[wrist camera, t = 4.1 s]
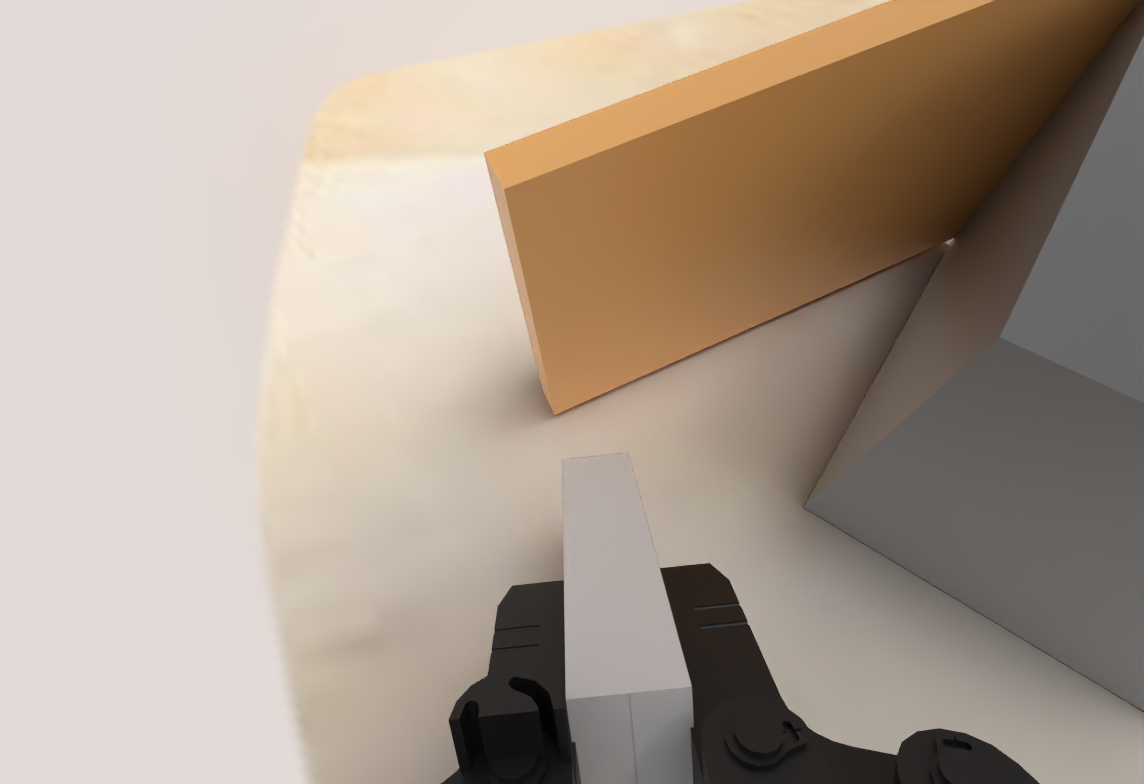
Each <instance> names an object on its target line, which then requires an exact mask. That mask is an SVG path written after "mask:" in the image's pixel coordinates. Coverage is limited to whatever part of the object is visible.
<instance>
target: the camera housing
mask: <svg viewBox="0 0 1144 784" xmlns="http://www.w3.org/2000/svg"><path fill="white" fill-rule="evenodd" d="M804 508H805V509H807V510H809V511H810V512H812V513H814V514H815V515H817V516H819V517H820V518H822V519H824V520H825V521H827V522H829V523H830V524H832V525H834V526H835V527H837V528H839V529H840V530H842V531H844V532H845V533H847V534H849V535H850V536H852V537H854V538H855V539H857V540H859V541H860V542H862V543H864V544H865V545H867V546H869V547H870V548H872V549H874V550H875V551H877V552H879V553H880V554H882V555H884V556H885V557H887V558H889V559H890V560H892V561H894V562H895V563H897V564H899V565H900V566H902V567H904V568H905V569H907V570H909V571H910V572H912V573H914V574H915V575H917V576H919V577H920V578H922V579H924V580H925V581H927V582H929V583H930V584H932V585H934V586H935V587H937V588H939V589H940V590H942V591H944V592H945V593H947V594H949V595H950V596H952V597H954V598H955V599H957V600H959V601H960V602H962V603H964V604H965V605H967V606H969V607H970V608H972V609H974V610H975V611H977V612H979V613H980V614H982V615H984V616H985V617H987V618H989V619H990V620H992V621H994V622H995V623H997V624H999V625H1000V626H1002V627H1004V628H1005V629H1007V630H1009V631H1010V632H1012V633H1014V634H1015V635H1017V636H1019V637H1020V638H1022V639H1024V640H1025V641H1027V642H1029V643H1030V644H1032V645H1034V646H1035V647H1037V648H1039V649H1040V650H1042V651H1044V652H1045V653H1047V654H1049V655H1050V656H1052V657H1054V658H1055V659H1057V660H1059V661H1060V662H1062V663H1064V664H1065V665H1067V666H1069V667H1070V668H1072V669H1074V670H1075V671H1077V672H1079V673H1080V674H1082V675H1084V676H1085V677H1087V678H1089V679H1090V680H1092V681H1094V682H1095V683H1097V684H1099V685H1100V686H1102V687H1104V688H1105V689H1107V690H1109V691H1110V692H1112V693H1114V694H1115V695H1117V696H1119V697H1120V698H1122V699H1124V700H1125V701H1127V702H1129V703H1130V704H1132V705H1134V706H1135V707H1137V708H1139V709H1140V710H1142V711H1144V0H1141V1H1140V2H1139V3H1138V4H1137V6H1136V7H1135V8H1134V9H1133V11H1132V12H1131V13H1130V15H1129V16H1128V17H1127V18H1126V20H1125V21H1124V22H1123V23H1122V25H1121V26H1120V27H1119V29H1118V30H1117V31H1116V32H1115V34H1114V35H1113V36H1112V37H1111V39H1110V40H1109V41H1108V43H1107V44H1106V45H1105V46H1104V48H1103V49H1102V50H1101V51H1100V53H1099V54H1098V55H1097V57H1096V58H1095V59H1094V60H1093V62H1092V63H1091V64H1090V65H1089V67H1088V68H1087V69H1086V71H1085V72H1084V73H1083V74H1082V76H1081V77H1080V78H1079V79H1078V81H1077V82H1076V83H1075V85H1074V86H1073V87H1072V88H1071V90H1070V91H1069V92H1068V93H1067V95H1066V96H1065V97H1064V99H1063V100H1062V101H1061V102H1060V104H1059V105H1058V106H1057V107H1056V109H1055V110H1054V111H1053V113H1052V114H1051V115H1050V116H1049V118H1048V119H1047V120H1046V121H1045V123H1044V124H1043V125H1042V127H1041V128H1040V129H1039V130H1038V132H1037V133H1036V134H1035V135H1034V137H1033V138H1032V139H1031V141H1030V142H1029V143H1028V144H1027V146H1026V147H1025V148H1024V149H1023V151H1022V152H1021V153H1020V155H1019V156H1018V157H1017V158H1016V160H1015V161H1014V162H1013V163H1012V165H1011V166H1010V167H1009V169H1008V170H1007V171H1006V172H1005V174H1004V175H1003V176H1002V177H1001V179H1000V180H999V181H998V183H997V184H996V185H995V186H994V188H993V189H992V190H991V191H990V193H989V194H988V195H987V197H986V198H985V199H984V200H983V202H982V203H981V204H980V205H979V207H978V208H977V209H976V211H975V212H974V213H973V214H972V216H971V217H970V218H969V220H968V221H967V222H966V223H965V225H964V226H963V227H962V228H961V230H960V231H959V232H958V234H957V235H956V236H955V237H954V239H953V240H952V241H951V242H950V244H949V246H948V248H947V249H946V251H945V253H944V255H943V257H942V258H941V260H940V262H939V264H938V266H937V267H936V269H935V271H934V273H933V275H932V276H931V278H930V280H929V282H928V284H927V285H926V287H925V289H924V291H923V293H922V294H921V296H920V298H919V300H918V302H917V303H916V305H915V307H914V309H913V311H912V312H911V314H910V316H909V318H908V320H907V321H906V323H905V325H904V327H903V329H902V330H901V332H900V334H899V336H898V338H897V339H896V341H895V343H894V345H893V347H892V348H891V350H890V352H889V354H888V356H887V357H886V359H885V361H884V363H883V365H882V366H881V368H880V370H879V372H878V374H877V376H876V377H875V379H874V381H873V383H872V385H871V386H870V388H869V390H868V392H867V394H866V395H865V397H864V399H863V401H862V403H861V404H860V406H859V408H858V410H857V412H856V413H855V415H854V417H853V419H852V421H851V422H850V424H849V426H848V428H847V430H846V431H845V433H844V435H843V437H842V439H841V440H840V442H839V444H838V446H837V448H836V449H835V451H834V453H833V455H832V457H831V458H830V460H829V462H828V464H827V466H826V467H825V469H824V471H823V473H822V475H821V476H820V478H819V480H818V482H817V484H816V485H815V487H814V489H813V491H812V493H811V494H810V496H809V498H808V500H807V502H806V503H805V505H804Z"/></svg>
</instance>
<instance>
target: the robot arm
mask: <svg viewBox="0 0 1144 784" xmlns="http://www.w3.org/2000/svg"><path fill="white" fill-rule="evenodd" d="M562 488H563V554H564V580H563V581H553V582H543V583H534V584H524V585H515V586H512V587H511V588H510V590H509V591H508V593H507V594H506V596H505V597H504V598H503V600H502V601H501V603H500V604H499V606H498V609H497V616H496V623H495V634H494V637H493V644H492V654H491V657H490V664H489V671H488V676H487V677H485V678H483V679H482V680H480V681H478V682H476V683H475V684H473V685H471V686H470V687H469V689H468V690H467V691H466V692H465V693H464V694H463V695H462V696H461V697H460V698H459V699H458V700H457V702H456V704H455V706H454V709H453V711H452V713H451V716H450V718H449V724H450V728H451V732H452V737H453V741H454V745H455V750H456V754H457V759H458V763H459V767H460V768H459V769H458V770H457V771H456V772H455V773H454V774H453V775H451V776H450V777H449V778H448V779H447V780H445V781H444V782H443V783H441V784H1040V783H1038V782H1037V781H1036V780H1035V779H1034V778H1033V777H1032V776H1031V775H1030V774H1029V773H1027V772H1026V771H1025V770H1024V769H1023V768H1022V767H1021V766H1020V765H1019V764H1018V763H1016V762H1015V761H1013V760H1012V759H1011V758H1009V757H1008V756H1007V755H1005V754H1004V753H1002V752H1001V751H1000V750H998V749H997V748H996V747H994V746H993V745H991V744H989V743H986V742H984V741H982V740H979V739H977V738H975V737H973V736H970V735H968V734H966V733H961V732H956V731H950V730H944V729H932V730H925V731H917V732H916V733H914V734H913V735H911V736H910V737H908V738H907V739H906V740H904V741H903V742H902V743H901V746H900V749H899V751H898V754H897V755H893V754H887V753H882V752H877V751H872V750H867V749H861V748H856V747H851V746H848V745H844V744H841V743H837V742H834V741H831V740H829V739H827V738H825V737H823V736H821V735H819V734H817V733H815V732H814V731H812V730H811V729H809V728H808V727H807V726H806V724H805V723H804V721H803V720H802V719H801V718H800V717H798V716H797V715H796V714H794V713H793V712H792V711H790V710H789V709H788V708H787V706H786V705H785V703H784V701H783V700H782V698H781V696H780V694H779V692H778V689H777V687H776V685H775V682H774V680H773V678H772V676H771V673H770V671H769V669H768V667H767V664H766V662H765V660H764V658H763V655H762V653H761V651H760V649H759V646H758V644H757V642H756V640H755V637H754V635H753V633H752V630H751V628H750V626H749V625H748V624H747V619H746V617H745V615H744V612H743V610H742V608H741V606H739V601H738V599H737V597H736V594H735V592H734V590H733V587H732V585H731V583H730V581H729V580H728V579H727V578H726V577H725V576H724V575H723V574H721V573H720V572H719V571H718V570H717V569H716V568H715V567H713V566H712V565H711V564H710V563H706V564H697V565H687V566H678V567H668V568H660V567H659V564H658V560H657V556H656V552H655V549H654V545H653V541H652V538H651V534H650V530H649V527H648V523H647V519H646V516H645V512H644V508H643V504H642V501H641V497H640V493H639V490H638V486H637V482H636V479H635V475H634V471H633V468H632V464H631V460H630V456H629V453H619V454H610V455H601V456H591V457H582V458H573V459H563V460H562Z"/></svg>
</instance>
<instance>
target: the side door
mask: <svg viewBox="0 0 1144 784" xmlns="http://www.w3.org/2000/svg"><path fill="white" fill-rule="evenodd" d="M1140 1H1141V0H891V1H888V2H886V3H883V4H880V5H878V6H875V7H872V8H870V9H867V10H864V11H862V12H859V13H856V14H854V15H851V16H848V17H846V18H843V19H840V20H838V21H835V22H832V23H830V24H827V25H824V26H822V27H819V28H816V29H814V30H811V31H808V32H806V33H803V34H800V35H798V36H795V37H792V38H790V39H787V40H784V41H782V42H779V43H776V44H773V45H771V46H768V47H765V48H763V49H760V50H757V51H755V52H752V53H749V54H747V55H744V56H741V57H739V58H736V59H733V60H731V61H728V62H725V63H723V64H720V65H717V66H715V67H712V68H709V69H707V70H704V71H701V72H699V73H696V74H693V75H691V76H688V77H685V78H683V79H680V80H677V81H675V82H672V83H669V84H667V85H664V86H661V87H659V88H656V89H653V90H650V91H648V92H645V93H642V94H640V95H637V96H634V97H632V98H629V99H626V100H624V101H621V102H618V103H616V104H613V105H610V106H608V107H605V108H602V109H600V110H597V111H594V112H592V113H589V114H586V115H584V116H581V117H578V118H576V119H573V120H570V121H568V122H565V123H562V124H560V125H557V126H554V127H552V128H549V129H546V130H544V131H541V132H538V133H535V134H533V135H530V136H527V137H525V138H522V139H519V140H517V141H514V142H511V143H509V144H506V145H503V146H501V147H498V148H495V149H493V150H490V151H487V152H485V153H484V155H485V159H486V163H487V167H488V172H489V176H490V180H491V184H492V188H493V192H494V196H495V200H496V204H497V208H498V212H499V216H500V220H501V224H502V228H503V232H504V236H505V240H506V244H507V248H508V252H509V257H510V261H511V265H512V269H513V273H514V277H515V281H516V285H517V289H518V293H519V297H520V301H521V305H522V309H523V313H524V317H525V321H526V325H527V329H528V333H529V337H530V341H531V346H532V350H533V354H534V358H535V362H536V366H537V370H538V374H539V378H540V382H541V386H542V390H543V392H544V394H545V396H546V398H547V401H548V403H549V405H550V407H551V409H552V411H553V413H554V415H556V414H558V413H560V412H563V411H565V410H567V409H569V408H572V407H574V406H576V405H578V404H581V403H583V402H585V401H587V400H590V399H592V398H594V397H597V396H599V395H601V394H603V393H606V392H608V391H610V390H612V389H615V388H617V387H619V386H621V385H624V384H626V383H628V382H630V381H633V380H635V379H637V378H639V377H642V376H644V375H646V374H648V373H651V372H653V371H655V370H657V369H660V368H662V367H664V366H666V365H669V364H671V363H673V362H675V361H678V360H680V359H682V358H684V357H687V356H689V355H691V354H693V353H696V352H698V351H700V350H702V349H705V348H707V347H709V346H711V345H714V344H716V343H718V342H720V341H723V340H725V339H727V338H729V337H732V336H734V335H736V334H738V333H741V332H743V331H745V330H747V329H750V328H752V327H754V326H756V325H759V324H761V323H763V322H765V321H768V320H770V319H772V318H774V317H777V316H779V315H781V314H783V313H786V312H788V311H790V310H792V309H795V308H797V307H799V306H801V305H804V304H806V303H808V302H810V301H813V300H815V299H817V298H819V297H822V296H824V295H826V294H828V293H831V292H833V291H835V290H837V289H840V288H842V287H844V286H846V285H849V284H851V283H853V282H855V281H858V280H860V279H862V278H864V277H867V276H869V275H871V274H874V273H876V272H878V271H880V270H883V269H885V268H887V267H889V266H892V265H894V264H896V263H898V262H901V261H903V260H905V259H907V258H910V257H912V256H914V255H916V254H919V253H921V252H923V251H925V250H928V249H930V248H932V247H934V246H937V245H939V244H941V243H943V242H946V241H948V240H950V239H952V238H954V237H955V236H956V235H957V234H958V232H959V231H960V230H961V228H962V227H963V226H964V225H965V223H966V222H967V221H968V219H969V218H970V217H971V216H972V214H973V213H974V212H975V211H976V209H977V208H978V207H979V205H980V204H981V203H982V202H983V200H984V199H985V198H986V197H987V195H988V194H989V193H990V191H991V190H992V189H993V188H994V186H995V185H996V184H997V183H998V181H999V180H1000V179H1001V177H1002V176H1003V175H1004V174H1005V172H1006V171H1007V170H1008V169H1009V167H1010V166H1011V165H1012V163H1013V162H1014V161H1015V160H1016V158H1017V157H1018V156H1019V155H1020V153H1021V152H1022V151H1023V149H1024V148H1025V147H1026V146H1027V144H1028V143H1029V142H1030V141H1031V139H1032V138H1033V137H1034V135H1035V134H1036V133H1037V132H1038V130H1039V129H1040V128H1041V127H1042V125H1043V124H1044V123H1045V121H1046V120H1047V119H1048V118H1049V116H1050V115H1051V114H1052V113H1053V111H1054V110H1055V109H1056V107H1057V106H1058V105H1059V104H1060V102H1061V101H1062V100H1063V99H1064V97H1065V96H1066V95H1067V93H1068V92H1069V91H1070V90H1071V88H1072V87H1073V86H1074V85H1075V83H1076V82H1077V81H1078V79H1079V78H1080V77H1081V76H1082V74H1083V73H1084V72H1085V71H1086V69H1087V68H1088V67H1089V65H1090V64H1091V63H1092V62H1093V60H1094V59H1095V58H1096V57H1097V55H1098V54H1099V53H1100V51H1101V50H1102V49H1103V48H1104V46H1105V45H1106V44H1107V43H1108V41H1109V40H1110V39H1111V37H1112V36H1113V35H1114V34H1115V32H1116V31H1117V30H1118V29H1119V27H1120V26H1121V25H1122V23H1123V22H1124V21H1125V20H1126V18H1127V17H1128V16H1129V15H1130V13H1131V12H1132V11H1133V9H1134V8H1135V7H1136V6H1137V4H1138V3H1139V2H1140Z"/></svg>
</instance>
